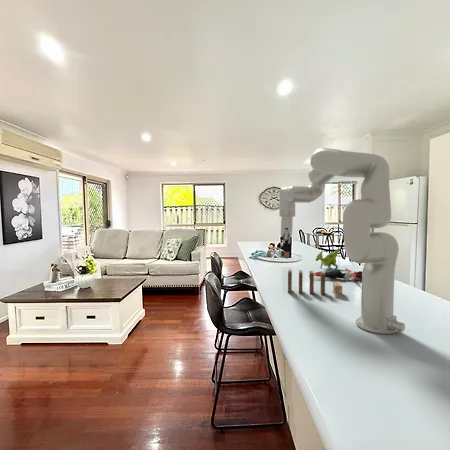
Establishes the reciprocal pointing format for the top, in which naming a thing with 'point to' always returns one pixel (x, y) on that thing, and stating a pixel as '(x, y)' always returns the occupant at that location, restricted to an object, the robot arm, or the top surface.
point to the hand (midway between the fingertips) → (287, 250)
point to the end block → (337, 289)
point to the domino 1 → (287, 255)
